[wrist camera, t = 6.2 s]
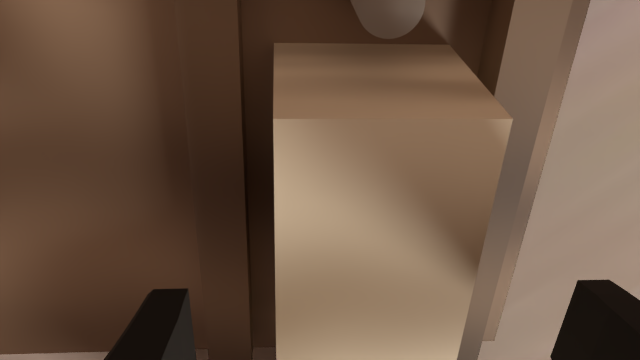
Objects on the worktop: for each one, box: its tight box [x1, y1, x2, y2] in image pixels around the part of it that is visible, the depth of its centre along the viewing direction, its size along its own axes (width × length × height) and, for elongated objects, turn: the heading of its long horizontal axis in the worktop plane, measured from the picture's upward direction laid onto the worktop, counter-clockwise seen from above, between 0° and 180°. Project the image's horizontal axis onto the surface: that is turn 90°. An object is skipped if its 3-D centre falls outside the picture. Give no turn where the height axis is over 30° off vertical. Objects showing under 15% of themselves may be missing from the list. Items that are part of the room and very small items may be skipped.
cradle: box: [0, 0, 590, 360], centre depth 13 cm, size 12×20×4 cm, turn 88°
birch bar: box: [273, 43, 513, 360], centre depth 13 cm, size 8×4×4 cm, turn 178°
